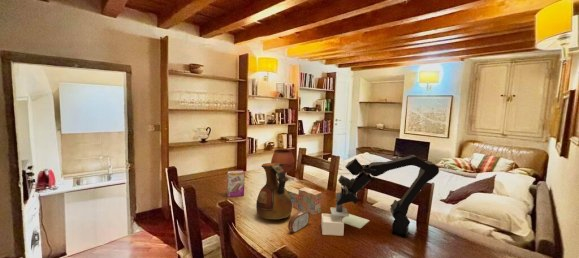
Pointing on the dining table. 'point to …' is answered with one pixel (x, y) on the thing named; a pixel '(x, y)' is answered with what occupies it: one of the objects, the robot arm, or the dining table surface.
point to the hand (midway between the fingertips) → (336, 203)
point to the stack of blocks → (306, 200)
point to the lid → (339, 208)
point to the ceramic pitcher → (274, 194)
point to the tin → (298, 221)
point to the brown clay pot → (283, 159)
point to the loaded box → (332, 225)
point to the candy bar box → (235, 183)
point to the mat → (355, 221)
